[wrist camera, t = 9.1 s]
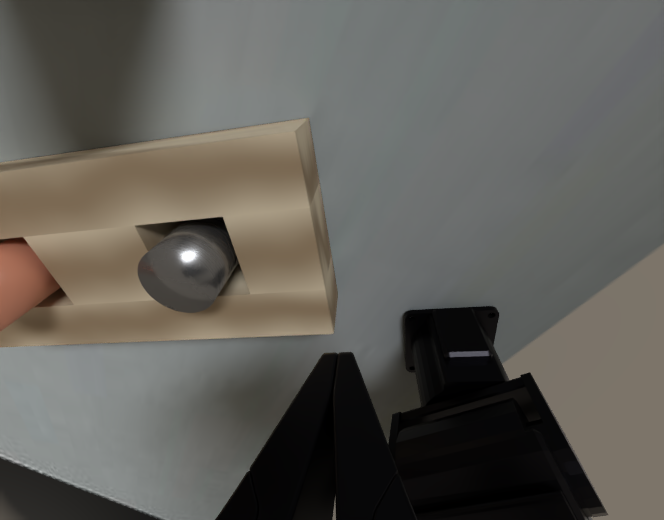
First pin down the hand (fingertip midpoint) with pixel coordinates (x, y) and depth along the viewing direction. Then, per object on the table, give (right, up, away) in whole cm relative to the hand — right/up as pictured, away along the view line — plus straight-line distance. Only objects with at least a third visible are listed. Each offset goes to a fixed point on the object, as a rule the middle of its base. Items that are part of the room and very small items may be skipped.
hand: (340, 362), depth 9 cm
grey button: (-8, +5, +11) cm, 14 cm away
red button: (-19, +3, +12) cm, 23 cm away
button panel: (-13, +4, +13) cm, 19 cm away
